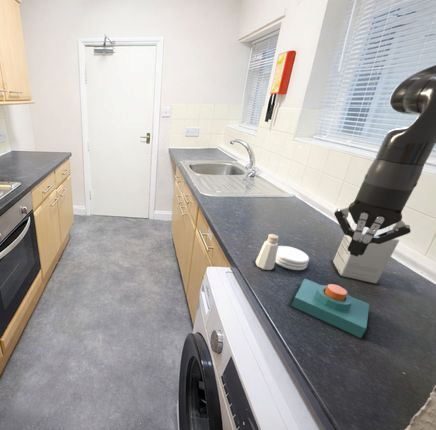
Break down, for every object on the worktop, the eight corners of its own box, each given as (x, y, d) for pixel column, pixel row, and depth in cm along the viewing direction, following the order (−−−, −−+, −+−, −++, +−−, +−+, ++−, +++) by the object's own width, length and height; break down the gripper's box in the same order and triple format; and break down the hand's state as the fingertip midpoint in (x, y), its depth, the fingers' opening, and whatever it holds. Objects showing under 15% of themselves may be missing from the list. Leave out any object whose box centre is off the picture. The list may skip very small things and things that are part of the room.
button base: (364, 312, 67) (373, 297, 65) (360, 338, 60) (370, 322, 58) (301, 286, 76) (306, 272, 74) (291, 306, 69) (297, 291, 67)
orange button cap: (345, 295, 66) (348, 289, 65) (343, 303, 64) (346, 297, 63) (325, 288, 69) (328, 281, 68) (323, 295, 66) (326, 289, 65)
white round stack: (298, 275, 81) (302, 265, 80) (265, 259, 88) (268, 250, 87) (311, 264, 87) (315, 255, 85) (279, 250, 94) (282, 242, 92)
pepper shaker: (274, 264, 86) (284, 234, 82) (272, 272, 82) (283, 242, 77) (256, 258, 89) (265, 229, 84) (253, 266, 85) (262, 236, 80)
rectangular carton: (365, 268, 85) (386, 227, 79) (377, 284, 78) (401, 240, 72) (331, 261, 89) (349, 221, 83) (339, 275, 81) (359, 233, 75)
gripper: (434, 186, 52) (392, 259, 60) (349, 172, 61) (322, 238, 68) (438, 195, 47) (392, 274, 55) (345, 178, 56) (316, 249, 63)
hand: (353, 254), depth 61 cm, fingers closed
